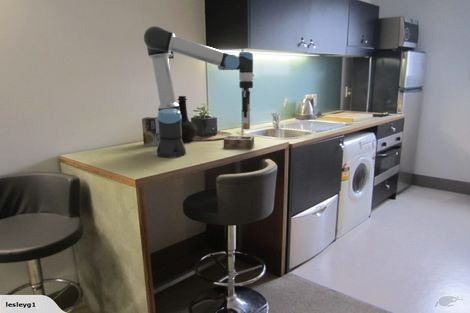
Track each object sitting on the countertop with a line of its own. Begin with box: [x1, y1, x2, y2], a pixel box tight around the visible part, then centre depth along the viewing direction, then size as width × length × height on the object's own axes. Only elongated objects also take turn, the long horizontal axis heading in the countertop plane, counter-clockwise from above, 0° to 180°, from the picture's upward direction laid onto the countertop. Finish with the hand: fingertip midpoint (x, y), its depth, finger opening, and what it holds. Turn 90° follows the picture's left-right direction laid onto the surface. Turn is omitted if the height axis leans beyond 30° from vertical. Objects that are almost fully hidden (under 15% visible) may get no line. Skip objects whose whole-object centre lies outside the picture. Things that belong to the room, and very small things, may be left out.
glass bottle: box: [177, 95, 198, 143], centre depth 215 cm, size 18×18×28 cm
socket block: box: [223, 134, 255, 150], centre depth 201 cm, size 16×12×5 cm
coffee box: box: [141, 116, 159, 147], centre depth 205 cm, size 9×6×16 cm
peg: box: [242, 104, 251, 130], centre depth 196 cm, size 4×4×14 cm
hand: (246, 122), depth 197 cm, fingers closed on peg, 4 cm apart
